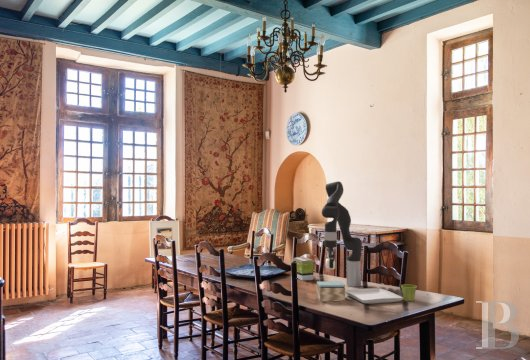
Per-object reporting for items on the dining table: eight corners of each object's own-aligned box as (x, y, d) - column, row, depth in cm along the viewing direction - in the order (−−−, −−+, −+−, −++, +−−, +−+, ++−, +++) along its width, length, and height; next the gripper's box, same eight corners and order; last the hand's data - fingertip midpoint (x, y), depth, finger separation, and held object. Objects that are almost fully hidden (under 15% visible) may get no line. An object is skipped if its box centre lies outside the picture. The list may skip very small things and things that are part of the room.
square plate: (362, 306, 266) (362, 299, 266) (342, 295, 292) (342, 289, 292) (404, 303, 273) (404, 296, 273) (380, 293, 300) (380, 287, 300)
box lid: (340, 283, 289) (340, 281, 289) (345, 286, 276) (345, 285, 276) (316, 283, 288) (316, 281, 288) (319, 286, 275) (319, 285, 275)
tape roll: (334, 267, 285) (334, 258, 285) (335, 269, 280) (335, 259, 280) (325, 267, 285) (325, 258, 285) (326, 269, 279) (326, 260, 279)
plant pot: (405, 297, 286) (405, 283, 286) (419, 300, 279) (419, 286, 279) (397, 300, 280) (397, 285, 280) (411, 303, 273) (411, 288, 273)
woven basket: (340, 296, 289) (340, 283, 289) (345, 301, 276) (345, 287, 276) (316, 296, 288) (316, 283, 288) (319, 301, 275) (319, 287, 275)
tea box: (292, 277, 350) (292, 257, 350) (303, 276, 354) (303, 256, 355) (301, 280, 337) (302, 260, 337) (313, 279, 341) (314, 259, 341)
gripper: (338, 240, 275) (338, 269, 275) (334, 238, 290) (334, 265, 290) (326, 240, 275) (326, 269, 275) (322, 238, 290) (322, 265, 289)
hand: (330, 267), depth 282 cm, fingers closed on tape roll, 5 cm apart
